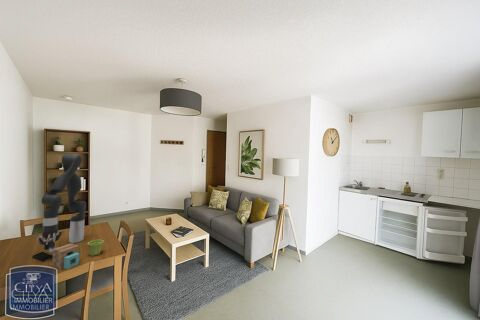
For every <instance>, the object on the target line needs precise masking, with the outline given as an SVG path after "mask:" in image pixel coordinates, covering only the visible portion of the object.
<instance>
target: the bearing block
mask: <svg viewBox="0 0 480 320" xmlns="http://www.w3.org/2000/svg"><path fill="white" fill-rule="evenodd" d="M79 246H80V245H78V244H74V243H70V242H69V243H67V244H65V245H63V246H59V247H57V248H55V249H53V252H52V262H51V263H52V265H51V267H52V266H53V268H55V267H56V269H58V270H62V269H64V257H66V256H67V253H69V252H70V255H71V254H74V253H79ZM68 256H69V255H68ZM71 262H73V259H71V260H70V263H71Z"/></svg>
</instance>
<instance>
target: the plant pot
mask: <svg viewBox="0 0 480 320" xmlns="http://www.w3.org/2000/svg"><path fill="white" fill-rule="evenodd" d="M103 244H104V240H103V239H94V240H90V241H89V242H87V245H88V249H89V256H92V257H93V256H98V255H100V254H101V251H102V246H103Z"/></svg>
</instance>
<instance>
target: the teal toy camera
mask: <svg viewBox="0 0 480 320" xmlns="http://www.w3.org/2000/svg"><path fill="white" fill-rule="evenodd" d="M71 259H73V262H71V263H70V260H71ZM79 264H80V253H79V252H78V253H74V254H71V255H69V256H66V257H64V268H63V270H69V269H71V268H73V267H75V266H78V265H79Z"/></svg>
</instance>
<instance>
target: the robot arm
mask: <svg viewBox="0 0 480 320" xmlns="http://www.w3.org/2000/svg"><path fill="white" fill-rule="evenodd" d="M82 162H83V157H82V156H81V155H79V154H74V153H65V154H63V155H62V157H61V165H62V169H63V173H62V174H60V175H59V176H58V177H56V179H55V180H54V182H53V184H52V186H51V187H50V188H49V189H48V190H47V192H45V194H44V195H43V196H42V198H41V203H42V205H45V206H50V207H49V208H46V209H45V210H44V211H43V219H42V234H41V235H40V236H37V237H36V238H35V239H36V240H37V242H38V244H40V245H42V246H43V250H44V251H46V250H48V241H49V240H53V246H54V247H56V242H57V241H59V240H60V238H61V236H62V234H63V231H59V230H58V227H59V209H60V208H61V205H62V202H63V197H62V196H61V195H59V194H61V193H63V192H64V191H65V189H66V191H67V201H68V203H67V204H68V211H69V212H70V213H78V214H77V215H74V216H73V215H72V216H71V217H70V223H69V231H68V232H69V233H68V234H69V235H68V242H69V244H70V243H72V244H74V243H79V242H82V241H84V237H85V220H86V219H85V218H86V210H87V202H86V201H85V200H75V199H76V196H77V195H78V194H79V193H80V191H81V189H82V181H81V180H82V179H81V178H80V176H79V175H78V174H77V173H76V171H77V170H78V169H79V168H80V167H81V165H82Z"/></svg>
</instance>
